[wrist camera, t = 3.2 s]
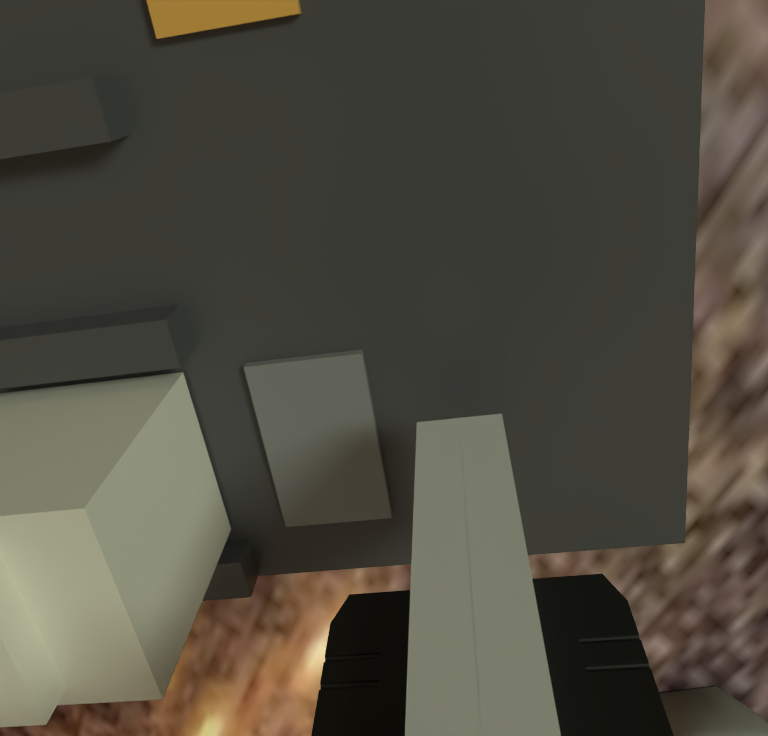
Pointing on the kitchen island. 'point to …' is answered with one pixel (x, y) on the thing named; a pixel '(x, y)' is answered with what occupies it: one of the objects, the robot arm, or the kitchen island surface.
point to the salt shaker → (710, 714)
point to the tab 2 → (101, 541)
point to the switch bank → (366, 249)
